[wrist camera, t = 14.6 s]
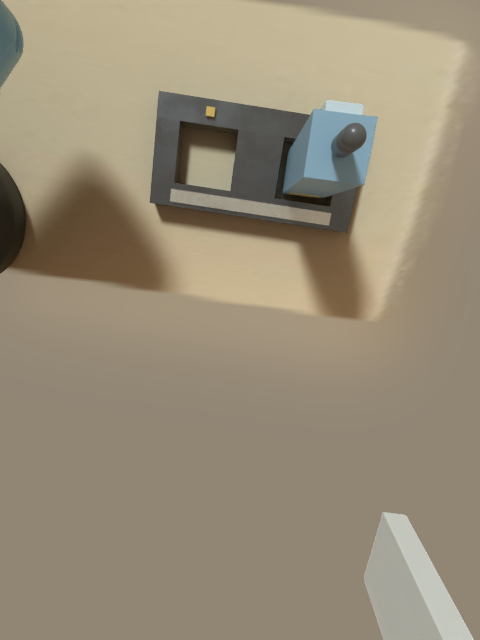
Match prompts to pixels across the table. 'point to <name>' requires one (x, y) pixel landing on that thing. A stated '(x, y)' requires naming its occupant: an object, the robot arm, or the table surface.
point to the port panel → (238, 163)
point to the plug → (330, 151)
